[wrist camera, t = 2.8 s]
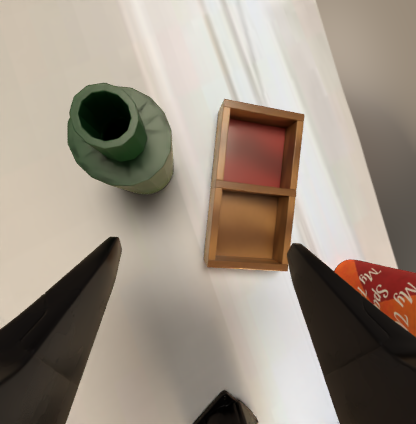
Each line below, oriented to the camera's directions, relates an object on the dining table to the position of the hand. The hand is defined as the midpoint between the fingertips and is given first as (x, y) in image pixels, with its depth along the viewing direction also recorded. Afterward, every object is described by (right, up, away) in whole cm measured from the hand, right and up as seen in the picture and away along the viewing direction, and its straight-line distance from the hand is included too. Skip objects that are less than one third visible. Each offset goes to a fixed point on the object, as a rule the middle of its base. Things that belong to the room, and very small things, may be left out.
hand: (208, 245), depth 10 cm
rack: (+5, +4, +14) cm, 16 cm away
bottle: (-7, +7, +12) cm, 16 cm away
